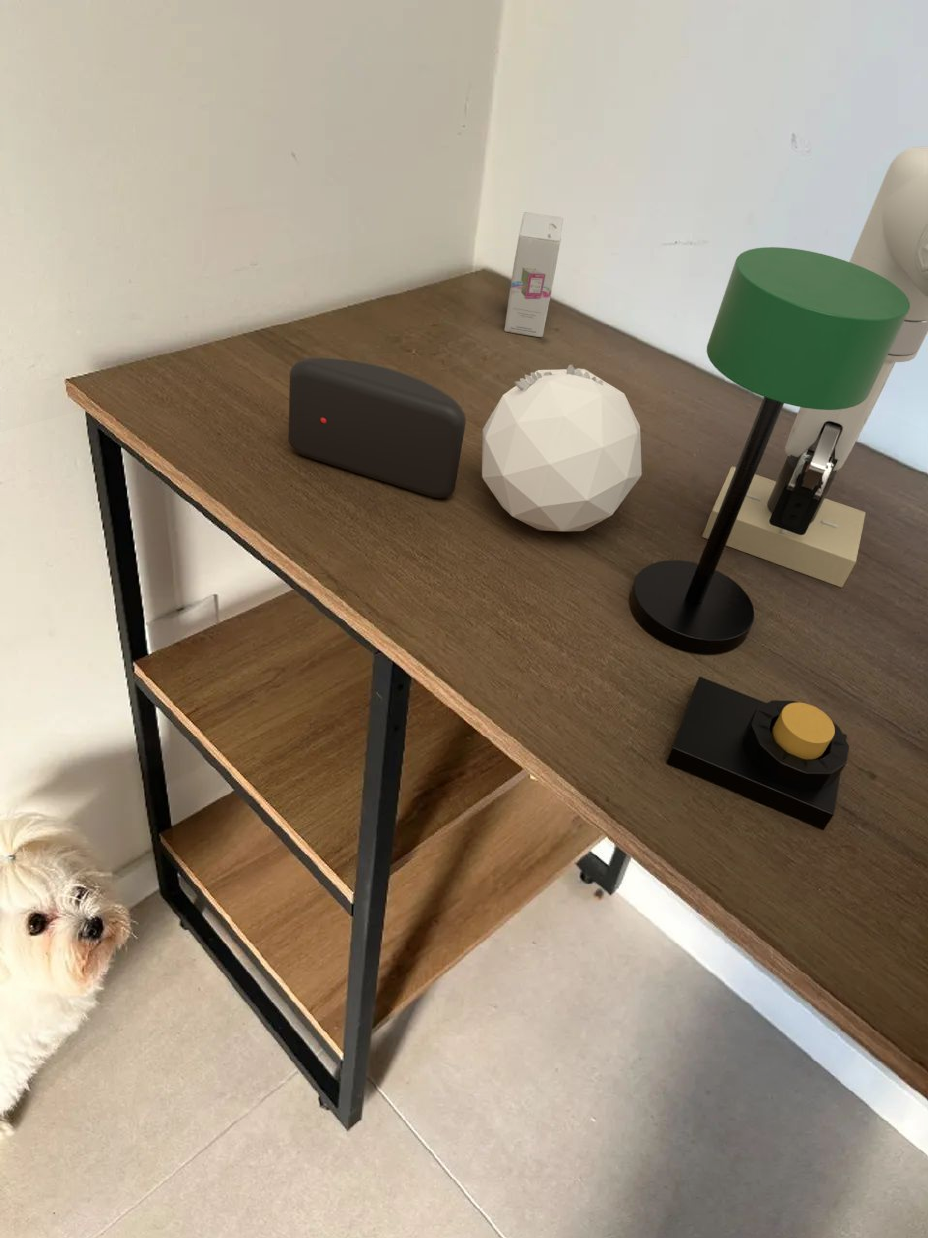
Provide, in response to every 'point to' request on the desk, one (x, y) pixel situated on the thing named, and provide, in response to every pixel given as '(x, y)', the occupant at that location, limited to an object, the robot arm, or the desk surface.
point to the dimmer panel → (814, 553)
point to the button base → (755, 754)
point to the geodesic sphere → (561, 450)
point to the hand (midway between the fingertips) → (794, 502)
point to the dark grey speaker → (376, 424)
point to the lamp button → (803, 730)
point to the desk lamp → (771, 410)
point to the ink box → (533, 274)
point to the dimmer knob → (786, 477)
